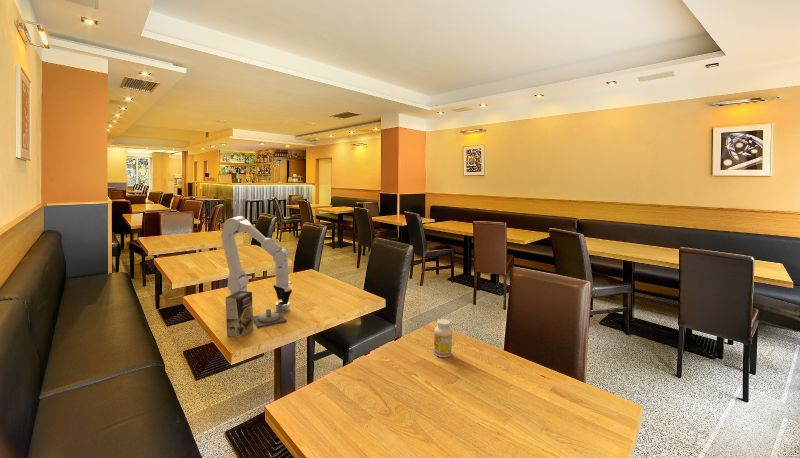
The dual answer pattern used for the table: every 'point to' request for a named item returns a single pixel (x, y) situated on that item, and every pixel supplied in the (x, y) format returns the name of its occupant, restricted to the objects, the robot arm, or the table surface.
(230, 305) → the coffee box
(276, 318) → the hub
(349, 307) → the table surface
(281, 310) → the grey metal ring
